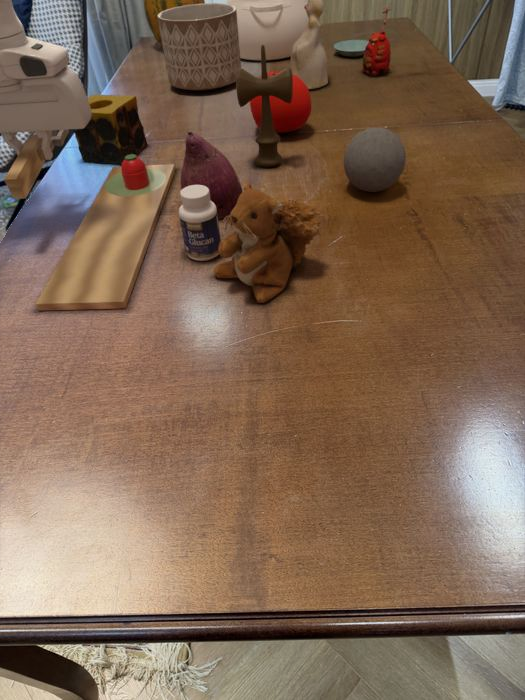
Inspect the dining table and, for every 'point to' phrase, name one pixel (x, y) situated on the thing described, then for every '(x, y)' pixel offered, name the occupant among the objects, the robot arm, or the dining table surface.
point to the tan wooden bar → (30, 164)
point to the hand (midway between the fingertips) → (37, 159)
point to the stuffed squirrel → (266, 241)
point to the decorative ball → (374, 159)
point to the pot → (269, 27)
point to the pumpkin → (157, 3)
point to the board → (106, 249)
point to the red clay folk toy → (377, 52)
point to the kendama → (265, 106)
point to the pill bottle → (199, 223)
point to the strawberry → (134, 173)
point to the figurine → (311, 51)
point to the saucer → (351, 47)
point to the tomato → (286, 107)
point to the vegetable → (210, 173)
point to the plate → (141, 191)
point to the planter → (200, 45)
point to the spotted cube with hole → (111, 130)
